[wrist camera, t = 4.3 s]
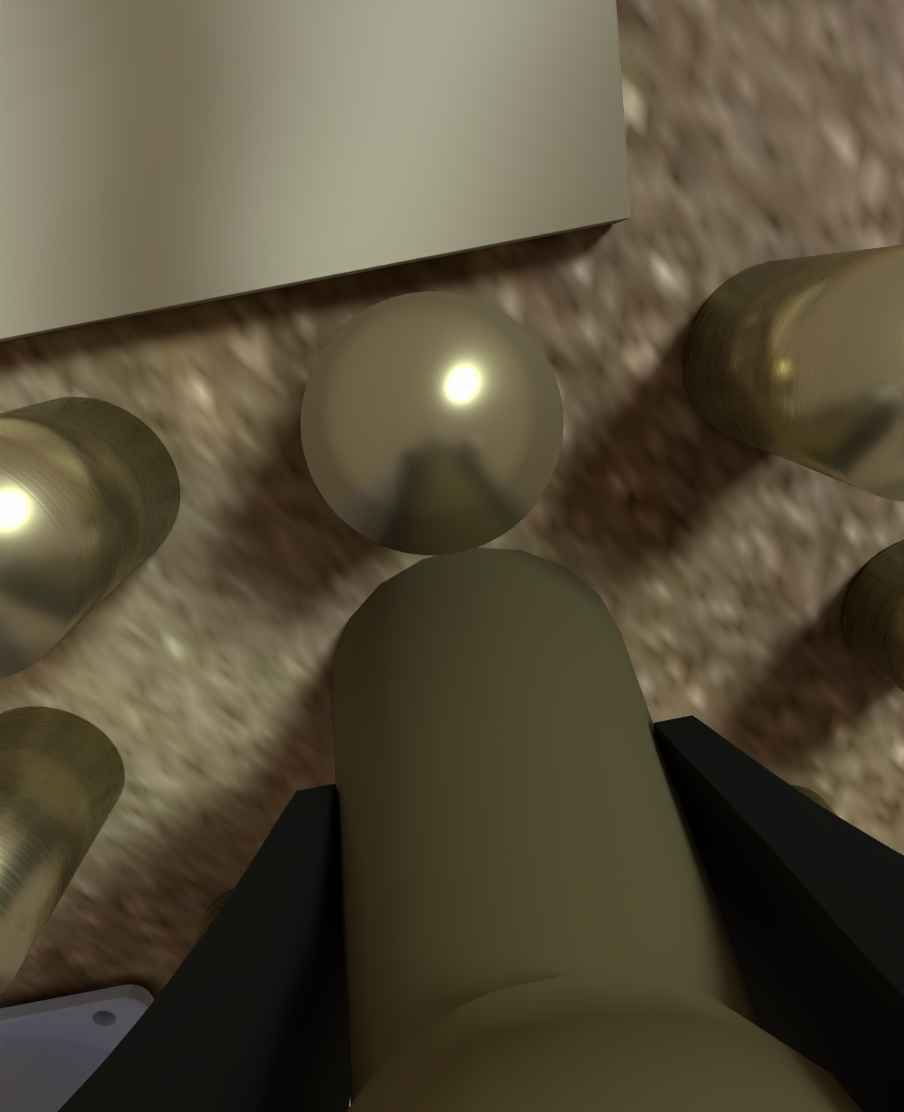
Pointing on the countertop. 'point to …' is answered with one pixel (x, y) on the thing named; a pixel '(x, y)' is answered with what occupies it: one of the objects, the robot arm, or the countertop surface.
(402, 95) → the pale grey metal board
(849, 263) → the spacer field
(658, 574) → the countertop surface
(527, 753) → the cork
